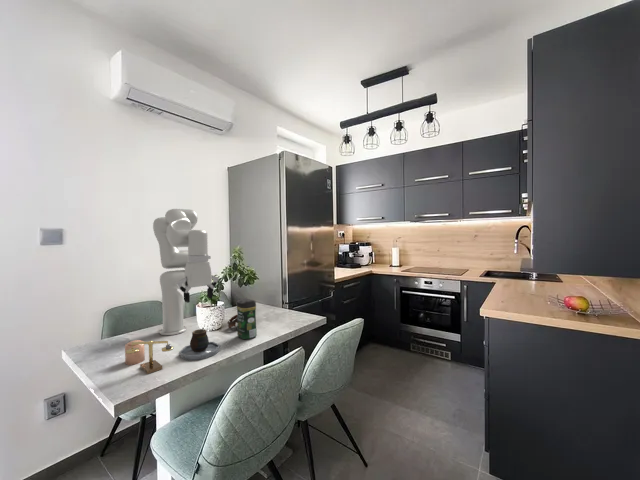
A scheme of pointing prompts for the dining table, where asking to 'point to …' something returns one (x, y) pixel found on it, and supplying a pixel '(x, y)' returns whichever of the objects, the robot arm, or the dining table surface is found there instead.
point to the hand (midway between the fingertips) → (198, 299)
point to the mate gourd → (199, 340)
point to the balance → (150, 356)
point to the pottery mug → (232, 321)
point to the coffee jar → (246, 318)
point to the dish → (192, 355)
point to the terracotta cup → (134, 357)
